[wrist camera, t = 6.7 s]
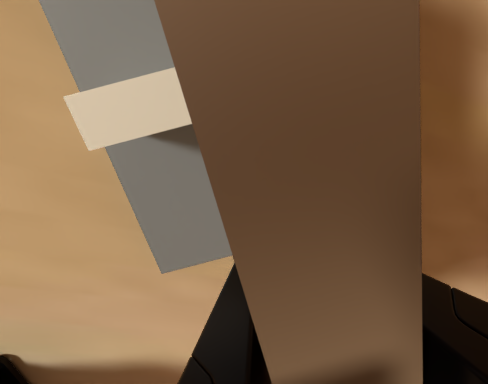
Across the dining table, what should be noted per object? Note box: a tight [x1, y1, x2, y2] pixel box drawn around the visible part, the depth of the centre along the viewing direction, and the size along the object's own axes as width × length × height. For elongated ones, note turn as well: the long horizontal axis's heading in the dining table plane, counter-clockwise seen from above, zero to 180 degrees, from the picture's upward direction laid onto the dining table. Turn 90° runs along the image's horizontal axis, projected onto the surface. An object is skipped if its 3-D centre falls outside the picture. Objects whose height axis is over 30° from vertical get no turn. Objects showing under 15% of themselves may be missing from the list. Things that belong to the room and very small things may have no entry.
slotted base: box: [39, 0, 232, 274], centre depth 13 cm, size 20×14×5 cm
